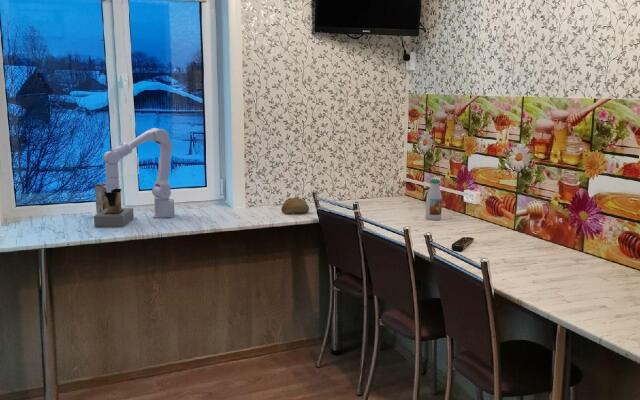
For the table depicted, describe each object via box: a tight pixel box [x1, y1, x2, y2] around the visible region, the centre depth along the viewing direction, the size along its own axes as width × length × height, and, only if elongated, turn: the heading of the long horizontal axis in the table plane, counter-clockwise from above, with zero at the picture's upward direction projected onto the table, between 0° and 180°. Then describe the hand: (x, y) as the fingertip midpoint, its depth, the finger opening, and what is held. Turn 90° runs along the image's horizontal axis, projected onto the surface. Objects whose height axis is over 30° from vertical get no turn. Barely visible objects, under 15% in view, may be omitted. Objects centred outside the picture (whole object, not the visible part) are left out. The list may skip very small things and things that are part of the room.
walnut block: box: [107, 191, 122, 213], centre depth 277 cm, size 5×5×9 cm
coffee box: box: [94, 182, 108, 215], centre depth 293 cm, size 9×6×16 cm
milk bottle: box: [425, 178, 443, 221], centre depth 290 cm, size 8×8×20 cm
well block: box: [93, 207, 135, 228], centre depth 278 cm, size 13×20×5 cm, turn 4°
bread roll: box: [280, 197, 310, 214], centre depth 303 cm, size 10×15×8 cm, turn 112°
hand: (113, 205), depth 277 cm, fingers closed on walnut block, 5 cm apart
